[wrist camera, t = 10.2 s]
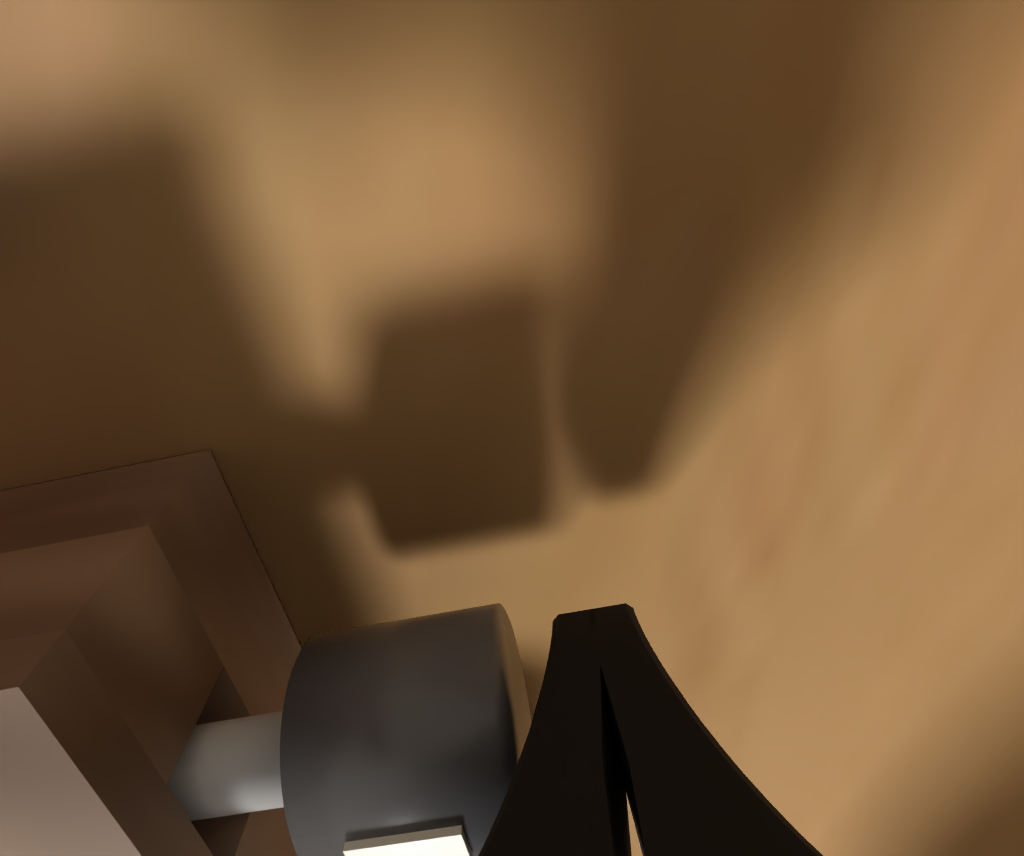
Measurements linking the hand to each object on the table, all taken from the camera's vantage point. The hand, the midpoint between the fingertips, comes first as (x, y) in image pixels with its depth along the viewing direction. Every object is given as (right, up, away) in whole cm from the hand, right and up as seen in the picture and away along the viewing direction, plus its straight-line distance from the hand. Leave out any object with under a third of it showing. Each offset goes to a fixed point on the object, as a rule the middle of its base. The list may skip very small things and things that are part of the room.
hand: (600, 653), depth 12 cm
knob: (-6, -1, +1) cm, 6 cm away
